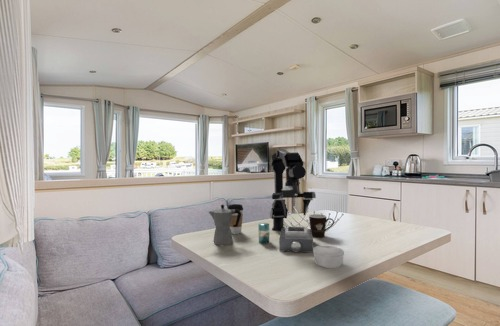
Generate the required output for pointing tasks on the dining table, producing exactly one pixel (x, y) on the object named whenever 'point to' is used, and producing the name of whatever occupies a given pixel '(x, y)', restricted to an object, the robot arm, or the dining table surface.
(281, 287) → the dining table surface
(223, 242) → the coffeepot
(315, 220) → the coffee mug
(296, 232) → the grey hollow block
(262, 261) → the dining table surface
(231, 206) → the coffee cup
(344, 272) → the dining table surface
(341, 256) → the ramekin
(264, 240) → the metal can
